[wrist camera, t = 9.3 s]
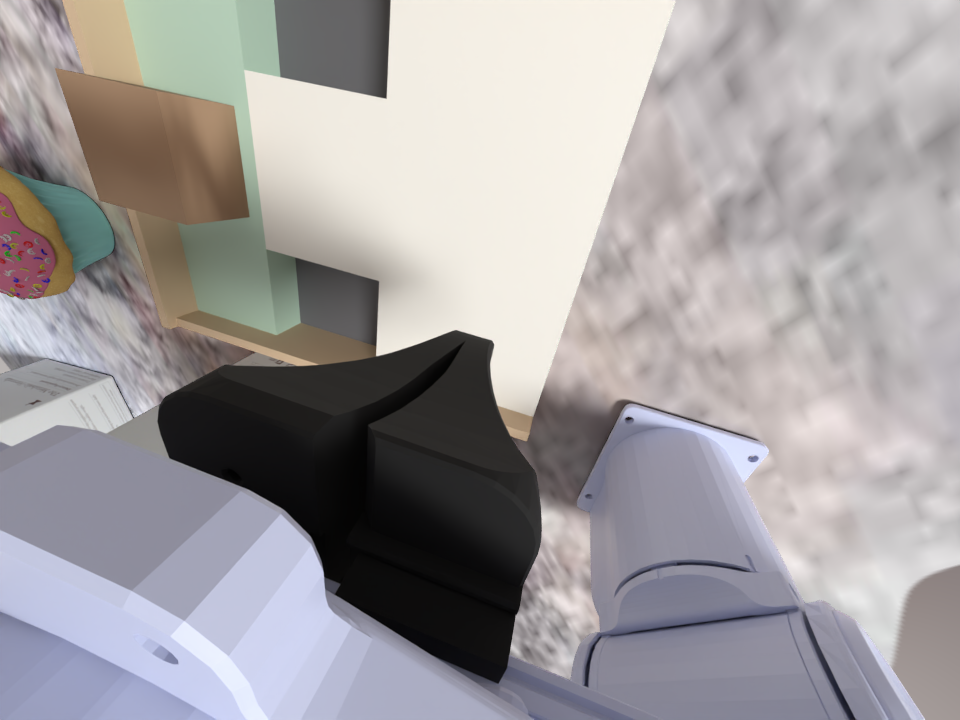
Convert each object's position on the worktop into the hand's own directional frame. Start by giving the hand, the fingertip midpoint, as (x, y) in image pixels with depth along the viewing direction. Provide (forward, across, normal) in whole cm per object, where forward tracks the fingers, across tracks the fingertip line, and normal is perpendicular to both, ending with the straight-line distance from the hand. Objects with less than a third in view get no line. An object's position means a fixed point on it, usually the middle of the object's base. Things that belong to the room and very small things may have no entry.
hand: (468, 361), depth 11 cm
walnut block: (+7, +17, -3) cm, 19 cm away
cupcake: (+10, +32, +4) cm, 34 cm away
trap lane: (+9, +9, -3) cm, 13 cm away
